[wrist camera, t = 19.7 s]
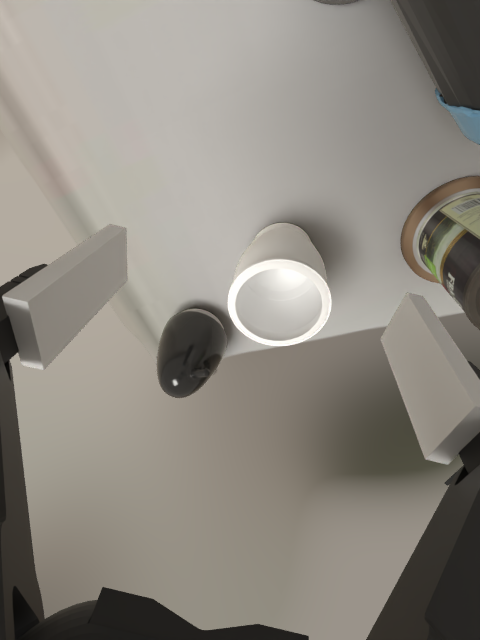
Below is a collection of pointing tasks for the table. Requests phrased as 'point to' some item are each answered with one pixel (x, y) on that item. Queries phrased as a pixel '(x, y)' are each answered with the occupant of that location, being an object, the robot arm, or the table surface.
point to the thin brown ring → (420, 216)
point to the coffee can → (455, 250)
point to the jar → (280, 288)
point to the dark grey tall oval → (189, 351)
